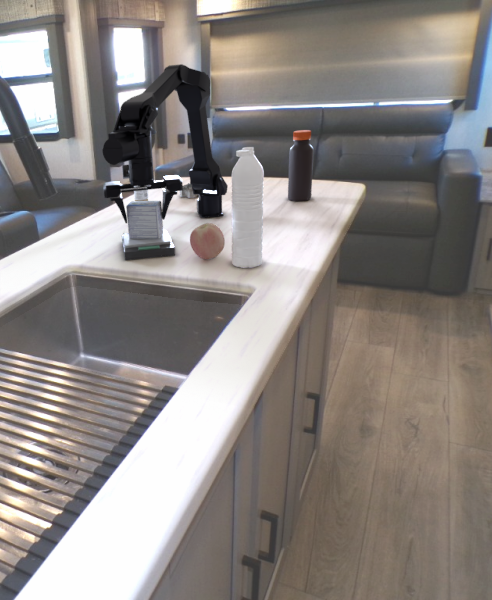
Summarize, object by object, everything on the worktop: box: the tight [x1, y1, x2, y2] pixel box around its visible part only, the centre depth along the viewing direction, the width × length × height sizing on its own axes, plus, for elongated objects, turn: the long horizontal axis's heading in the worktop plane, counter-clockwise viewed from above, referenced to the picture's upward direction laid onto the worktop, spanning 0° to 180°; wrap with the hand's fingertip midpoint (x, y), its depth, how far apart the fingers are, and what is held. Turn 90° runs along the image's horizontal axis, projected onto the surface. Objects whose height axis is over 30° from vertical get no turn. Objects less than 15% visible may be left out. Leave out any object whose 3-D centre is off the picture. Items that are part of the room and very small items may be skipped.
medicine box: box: [125, 200, 164, 239], centre depth 133 cm, size 8×4×9 cm, turn 71°
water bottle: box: [230, 146, 265, 269], centre depth 113 cm, size 9×6×25 cm
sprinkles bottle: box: [133, 186, 149, 201], centre depth 169 cm, size 5×5×14 cm
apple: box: [189, 222, 226, 260], centre depth 123 cm, size 8×8×8 cm
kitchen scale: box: [121, 228, 176, 261], centre depth 134 cm, size 12×14×3 cm
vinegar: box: [287, 129, 315, 202], centre depth 161 cm, size 7×7×20 cm
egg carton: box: [179, 182, 199, 199], centre depth 183 cm, size 11×8×4 cm
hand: (144, 221), depth 133 cm, fingers open, 9 cm apart
